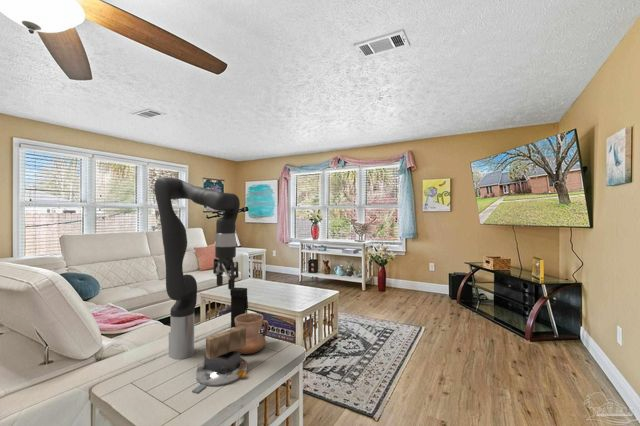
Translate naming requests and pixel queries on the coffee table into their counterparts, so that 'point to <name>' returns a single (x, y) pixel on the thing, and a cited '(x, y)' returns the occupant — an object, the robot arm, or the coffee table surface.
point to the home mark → (199, 388)
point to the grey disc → (221, 369)
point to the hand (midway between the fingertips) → (225, 287)
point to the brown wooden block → (225, 342)
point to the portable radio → (238, 303)
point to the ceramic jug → (252, 332)
